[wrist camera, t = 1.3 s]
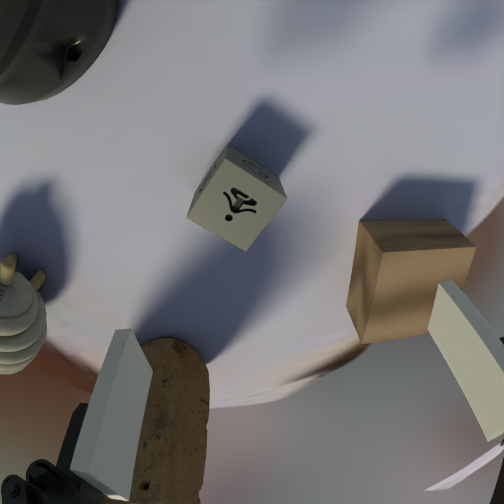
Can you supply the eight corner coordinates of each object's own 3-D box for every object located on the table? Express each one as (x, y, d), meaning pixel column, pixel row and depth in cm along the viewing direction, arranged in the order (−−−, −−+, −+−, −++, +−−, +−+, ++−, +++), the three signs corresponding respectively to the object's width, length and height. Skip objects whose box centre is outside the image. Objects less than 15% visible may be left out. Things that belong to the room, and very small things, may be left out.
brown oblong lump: (185, 326, 34) (162, 508, 16) (217, 366, 37) (213, 526, 20) (111, 349, 36) (69, 498, 18) (146, 384, 39) (123, 522, 22)
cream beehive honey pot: (-5, 313, 33) (-42, 370, 23) (-4, 207, 25) (-69, 262, 16) (57, 346, 35) (28, 413, 26) (73, 246, 28) (20, 320, 19)
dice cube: (278, 177, 26) (287, 198, 22) (244, 222, 28) (245, 251, 24) (227, 144, 25) (225, 158, 20) (194, 193, 26) (186, 217, 22)
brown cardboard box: (358, 219, 29) (382, 252, 23) (444, 218, 29) (476, 246, 24) (345, 304, 34) (361, 344, 28) (423, 296, 34) (445, 330, 29)
